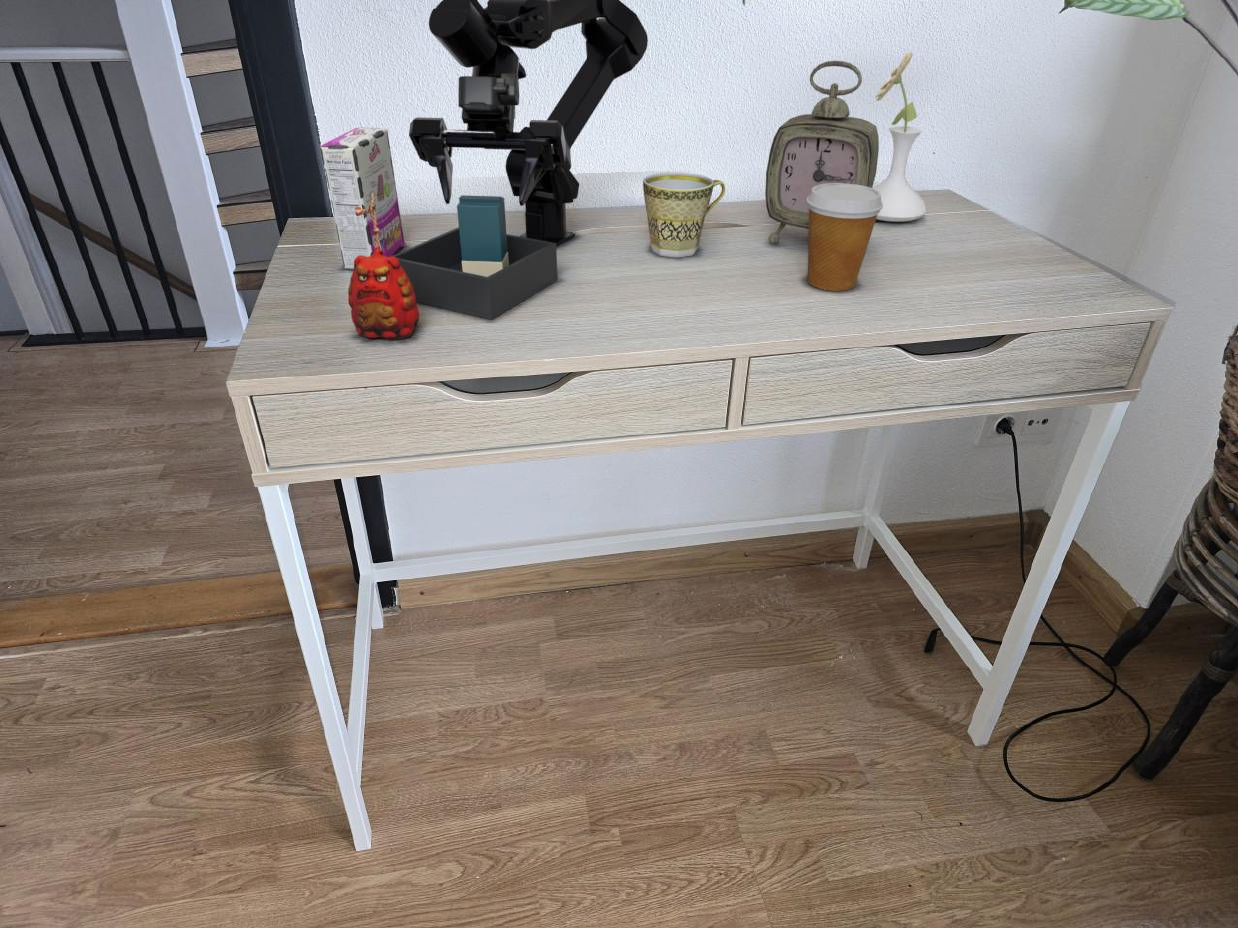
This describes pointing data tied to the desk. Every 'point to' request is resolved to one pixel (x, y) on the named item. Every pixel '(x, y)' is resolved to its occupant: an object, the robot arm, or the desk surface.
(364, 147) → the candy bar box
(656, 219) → the ceramic cup
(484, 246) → the teal gift box
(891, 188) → the flower in vase
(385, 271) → the red clay folk toy
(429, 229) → the desk surface
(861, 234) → the disposable coffee cup
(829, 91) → the tabletop clock
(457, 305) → the dark grey open box
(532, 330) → the desk surface
